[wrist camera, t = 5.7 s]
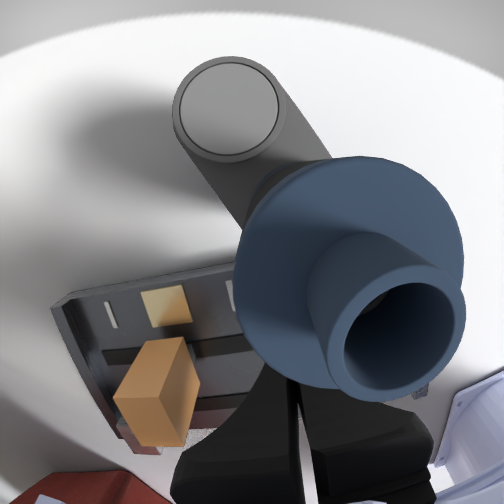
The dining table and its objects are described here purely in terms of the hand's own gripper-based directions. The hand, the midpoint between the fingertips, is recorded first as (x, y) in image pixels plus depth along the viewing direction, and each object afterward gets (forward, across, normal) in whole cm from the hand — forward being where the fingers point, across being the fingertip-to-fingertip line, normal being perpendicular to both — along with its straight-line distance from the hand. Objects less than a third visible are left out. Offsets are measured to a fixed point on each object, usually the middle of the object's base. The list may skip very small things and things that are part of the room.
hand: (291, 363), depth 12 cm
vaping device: (+4, 0, -8) cm, 8 cm away
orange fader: (+2, +5, 0) cm, 6 cm away
